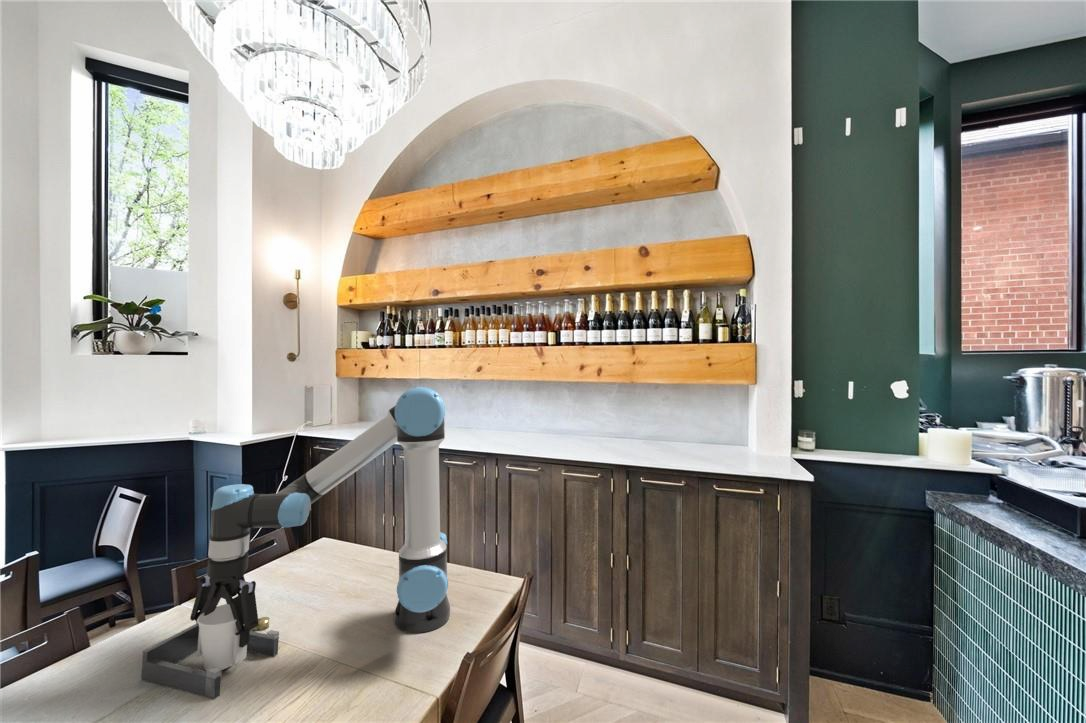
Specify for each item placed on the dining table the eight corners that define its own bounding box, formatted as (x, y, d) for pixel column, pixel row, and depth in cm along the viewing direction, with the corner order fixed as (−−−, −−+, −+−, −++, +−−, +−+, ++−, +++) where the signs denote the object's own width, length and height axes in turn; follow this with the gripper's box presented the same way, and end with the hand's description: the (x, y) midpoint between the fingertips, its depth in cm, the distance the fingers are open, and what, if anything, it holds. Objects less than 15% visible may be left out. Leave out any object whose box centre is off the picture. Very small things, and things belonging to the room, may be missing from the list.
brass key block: (270, 624, 114) (270, 616, 115) (266, 629, 112) (267, 621, 112) (240, 627, 113) (241, 619, 113) (236, 633, 110) (236, 625, 110)
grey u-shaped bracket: (277, 654, 102) (279, 628, 102) (213, 699, 87) (216, 668, 87) (211, 639, 107) (213, 614, 107) (140, 679, 92) (143, 651, 92)
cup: (239, 644, 103) (243, 598, 104) (254, 662, 97) (257, 612, 98) (187, 664, 96) (191, 614, 96) (199, 685, 89) (203, 631, 90)
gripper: (282, 554, 99) (275, 655, 97) (207, 543, 104) (200, 638, 103) (253, 567, 92) (245, 676, 90) (174, 555, 97) (166, 657, 96)
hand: (221, 656), depth 96 cm, fingers closed on cup, 9 cm apart
